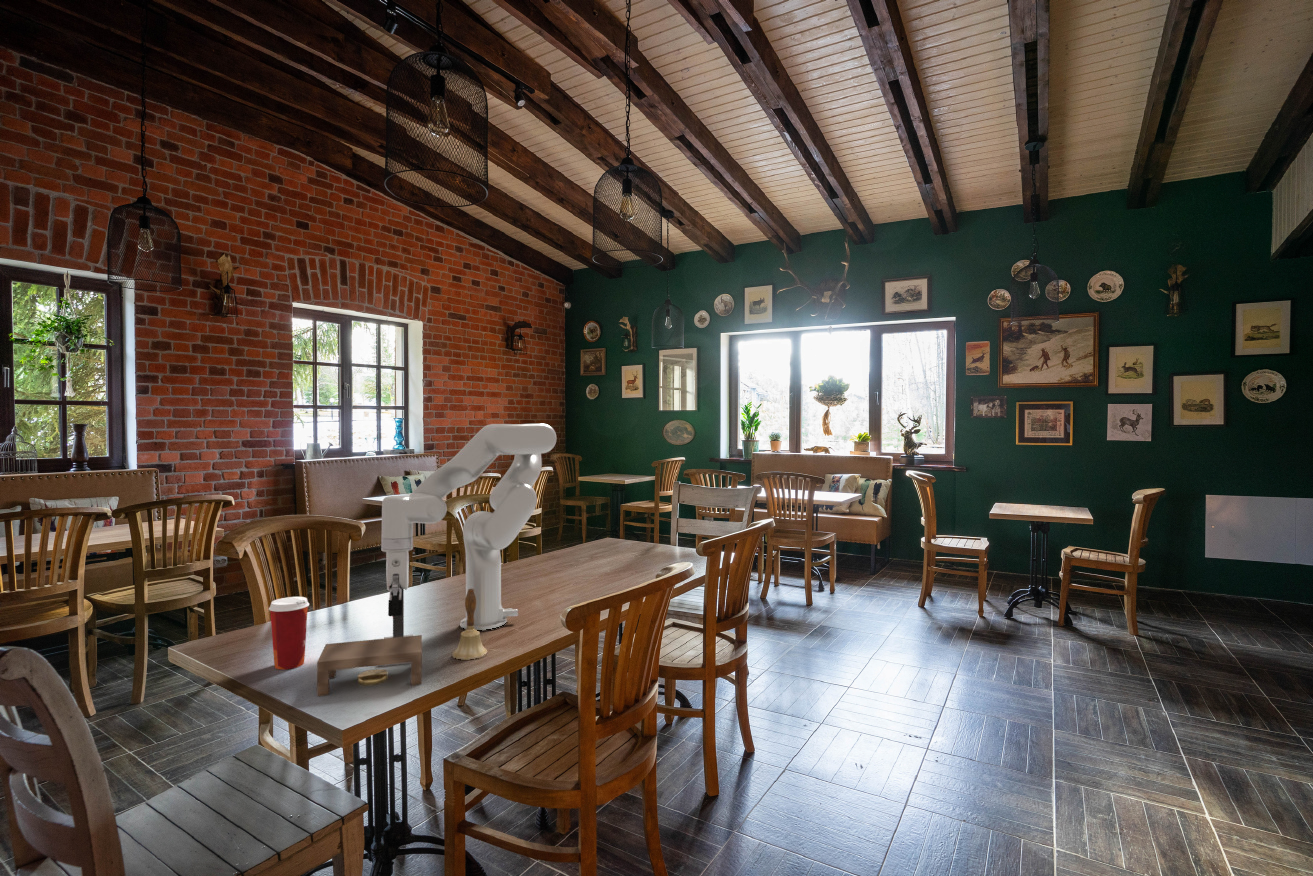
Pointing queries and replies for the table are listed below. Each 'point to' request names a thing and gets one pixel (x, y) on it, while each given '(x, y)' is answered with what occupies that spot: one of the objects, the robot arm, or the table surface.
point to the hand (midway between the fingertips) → (396, 610)
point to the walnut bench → (368, 657)
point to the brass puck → (372, 677)
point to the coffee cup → (289, 631)
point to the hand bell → (470, 633)
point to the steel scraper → (398, 627)
